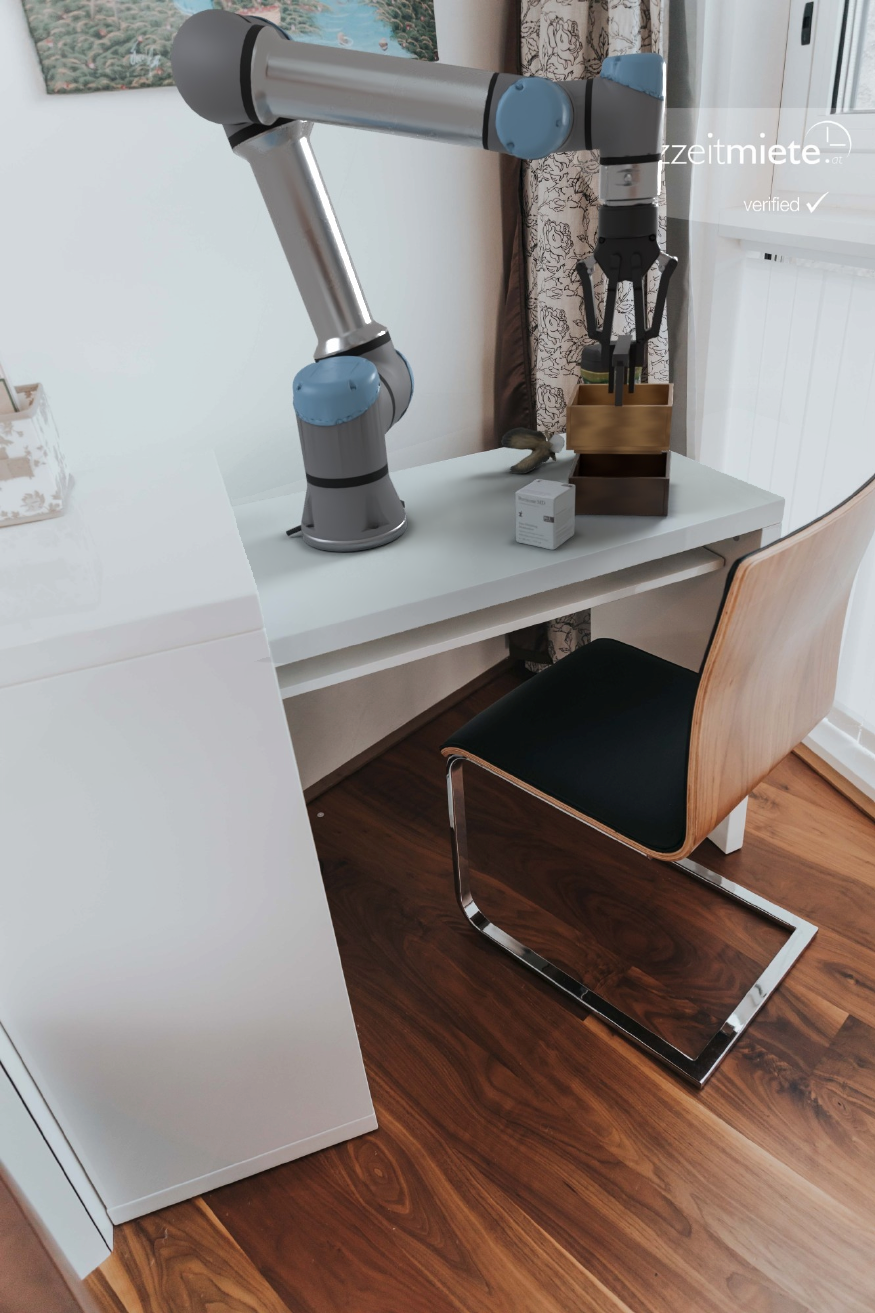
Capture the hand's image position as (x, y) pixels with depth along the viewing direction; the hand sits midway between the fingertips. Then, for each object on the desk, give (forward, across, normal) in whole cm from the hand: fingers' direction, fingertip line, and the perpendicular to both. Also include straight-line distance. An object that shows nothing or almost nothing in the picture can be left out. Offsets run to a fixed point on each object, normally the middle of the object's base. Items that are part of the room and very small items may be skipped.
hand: (621, 390), depth 123 cm
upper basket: (+7, 0, 0) cm, 7 cm away
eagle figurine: (+16, -15, +15) cm, 27 cm away
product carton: (+16, -9, -15) cm, 24 cm away
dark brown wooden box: (+16, 0, 0) cm, 16 cm away
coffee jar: (+16, -3, +20) cm, 26 cm away
